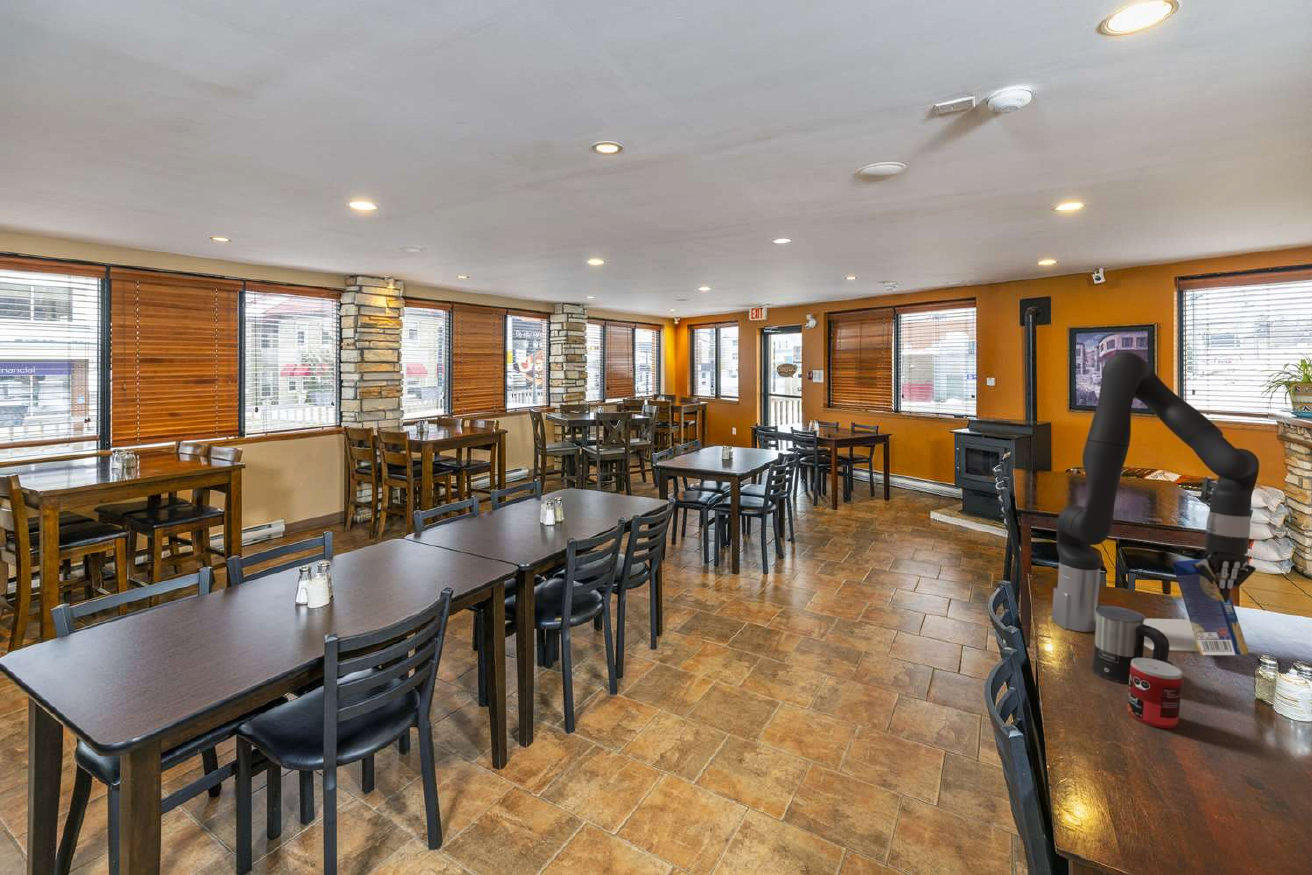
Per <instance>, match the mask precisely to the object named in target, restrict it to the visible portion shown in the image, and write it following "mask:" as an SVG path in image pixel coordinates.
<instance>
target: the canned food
mask: <svg viewBox="0 0 1312 875" xmlns="http://www.w3.org/2000/svg"><path fill="white" fill-rule="evenodd" d="M1149 658H1150V657H1148V658H1144V657H1143V658H1134V659H1132V661H1131V666H1130V677H1129V683H1128V690H1127V705H1126V709H1127V712H1128V714H1129V715H1130V716H1131V717H1132V716H1133V717H1134V718H1133V717H1132V718H1133V719H1135V720H1136V719H1137V720H1136V721H1138V720H1139V722H1140V721H1141V722H1140V723H1142V722H1143V724H1144V723H1147V724H1150V725H1153V726H1155V728H1158V727H1159V728H1158V729H1164V728H1169V730H1170V729H1174V728H1176V727H1177V726H1178V723H1179V719H1180V718H1179V717H1180V707H1181V696H1182V687H1183V671H1182V670H1181V669H1180V668H1178V667H1177V666H1175V665H1174V664H1173V665H1170V664H1168V663H1165V662H1162V661H1159V660H1154V659H1149ZM1147 724H1146V725H1147ZM1150 725H1149V726H1150ZM1153 726H1152V727H1153Z"/></svg>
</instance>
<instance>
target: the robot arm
mask: <svg viewBox="0 0 1312 875" xmlns="http://www.w3.org/2000/svg"><path fill="white" fill-rule="evenodd" d="M1100 380H1101V381H1100V387H1099V388H1100V389H1099V395H1098V401H1097V406H1096V409H1095V411H1094V415H1093V417H1092V421H1091V423H1090V427H1089V431H1088V434H1087V437H1086V441H1085V444H1084V448H1083V452H1082V466H1083V470H1084V475H1085V478H1086V483H1087V495H1086V500H1085V503H1084V506H1082V505H1079V504H1077V505H1076V504H1071V505H1068V506H1065V507H1064V508H1063V509H1062V510H1061V512H1060V513H1059V515H1058V518H1057V524H1056V550H1057V551H1056V552H1057V554H1058V558H1059V562H1058V572H1057V573H1058V575H1057V577H1058V578H1057V587H1053V593H1052V594H1053V595H1052V596H1053V597H1052V611H1051V621H1053V622H1054V623H1055V624H1056V625H1058V626H1060V627H1061V628H1062V629H1064V630H1071V631H1075V632H1076V631H1077V632H1082V633H1083V632H1084V633H1089V632H1090V633H1091V632H1094V631H1096V615H1097V612H1096V611H1095V609H1096V607H1098V603H1099V588H1100V580H1101V579H1100V577H1101V576H1100V575H1101V567H1102V566H1101V564H1102V560H1101V557H1100V556H1099V555H1098V554H1097V553H1096V552H1095V550H1094V548H1093V547H1092V546H1097V545H1100V544H1103V543H1104V542H1105V541H1106V540H1107V539H1108V537H1109V535H1110V534H1111V530H1112V528H1113V520H1114V515H1115V505H1116V499H1117V495H1118V489H1119V484H1120V480H1121V476H1122V471H1123V468H1124V465H1125V462H1126V459H1127V454H1128V453H1129V452H1128V451H1129V447H1130V444H1131V437H1132V436H1131V434H1132V419H1131V418H1132V414H1131V413H1132V408H1133V402H1134V401H1135V400H1134V399H1137V400H1139V401H1140V402H1141V403H1142V404H1144V405H1145V406H1146V407H1147V408H1148V409H1149V410H1151V411H1152V413H1153V414H1154V415H1155V416H1156V417H1158V419H1159V420H1160V421H1161V422H1162V423H1163V424H1164V425H1165V426H1166V427H1167V429H1168V430H1170V431H1171V432H1172V433H1173V434H1174V435H1175V436H1176V437H1178V439H1180V440H1181V441H1182V442H1183V443H1184V444H1185V445H1186V446H1188V447H1189V448H1190V449H1192V450H1193V451H1194V452H1193V453H1195V455H1196V456H1197V457H1198V458H1199V459H1200V460H1201V461H1202V463H1203V464H1204V465H1205V467H1207V468H1208V469H1209V470H1210V471H1211V472H1212V473H1214V474H1215V475H1216V476H1218V478H1217V484H1216V487H1215V488H1214V489H1213V491H1212V492H1211V495H1210V503H1209V511H1208V516H1207V519H1206V527H1205V538H1204V548H1205V554H1204V555H1203V558H1202V559H1203V560H1202V561H1200V562H1199V563H1197V562H1194V563H1193V564H1192V565H1193V567H1194V568H1195V570H1196V571H1197V572H1198V574H1200V575H1201V576H1203V577H1206V578H1207V579H1208V581H1209V582H1210V583H1211V584H1212V585H1213V582H1214V581H1215V583H1216V585H1218V587H1219V589H1220V592H1221V595H1222V597H1223V599H1224V601H1225V603H1227V601H1228V600H1229V595H1230V596H1231V594H1230V593H1231V589H1232V588H1233V587H1240V586H1242V584H1244V582H1245V581H1246V580H1247V579H1248V578H1249V577H1251V575H1252V574H1253V573H1254V572H1255V571H1256V569H1257V568H1256V566H1253V565H1250V564H1249V563H1248V562H1247V559H1246V555H1247V554H1248V551H1249V542H1250V533H1251V511H1252V497H1253V494H1254V490H1255V487H1256V483H1257V481H1258V478H1259V477H1258V476H1259V472H1260V461H1259V458H1258V456H1257V455H1256V454H1255V453H1254V452H1253V451H1250V450H1248V449H1247V448H1246V449H1245V448H1238V447H1237V448H1236V447H1235V446H1234V445H1233V444H1231V442H1230V441H1228V440H1227V439H1226V438H1225V437H1224V433H1223V431H1222V430H1221V429H1220V428H1219V427H1218V426H1217V425H1215V423H1213V421H1211V420H1210V419H1208V418H1207V417H1206V416H1205V415H1204V414H1203V413H1201V412H1200V411H1198V410H1197V409H1196V408H1195V407H1193V406H1192V405H1191V404H1190V403H1188V402H1187V401H1185V400H1184V399H1182V398H1181V397H1180V396H1178V395H1177V393H1175V392H1173V391H1172V390H1171V389H1170V388H1169V387H1168V386H1167V385H1166V384H1165V383H1164V382H1163V381H1162V380H1161V379H1160V377H1159V376H1158V375H1157V374H1156V373H1155V371H1154V370H1153V369H1152V368H1151V365H1150V364H1149V362H1148V361H1147V360H1145V359H1144V358H1143V357H1141V356H1140V355H1138V354H1136V353H1133V352H1128V351H1127V352H1126V351H1125V352H1124V351H1123V352H1119V353H1116V354H1114V355H1112V356H1111V357H1110V358H1109V359H1108V360H1107V361H1106V362H1105V364H1104V365H1103V367H1102V372H1101V379H1100ZM1208 564H1209V565H1210V568H1211V570H1212V571H1213V572H1214V576H1215V577H1216V578H1217V580H1218V581H1216V580H1215V578H1214V577H1213V576H1212V574H1211V573H1210V572H1209V569H1210V568H1209V567H1208Z"/></svg>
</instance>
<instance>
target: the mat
mask: <svg viewBox="0 0 1312 875" xmlns="http://www.w3.org/2000/svg"><path fill="white" fill-rule="evenodd" d="M1143 624H1145V625H1147V626H1150V627H1153V628H1156V629H1158V630H1159V631H1161V632H1162V633H1163V634H1164V635H1165V636H1166V638H1167V639H1168V641H1169V652H1191V653H1192V652H1196V653H1200V652H1199V649H1198V645H1197V642H1196V639H1195V636H1194V632H1193V629H1192V626H1191V623H1190V619H1186V618H1185V619H1180V618H1177V619H1176V618H1174V619H1173V618H1146V619H1145V620H1144V623H1143ZM1144 647H1146V648H1148V649H1150V650H1151V651H1154V643H1153V641H1152V640H1151V639H1149V638H1148V637H1146V636H1144ZM1248 651H1249V653H1248V654H1254V653H1255V652H1254V651H1253V650H1251V649H1249V648H1248Z"/></svg>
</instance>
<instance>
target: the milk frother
mask: <svg viewBox="0 0 1312 875" xmlns="http://www.w3.org/2000/svg"><path fill="white" fill-rule="evenodd" d="M1095 611H1096V612H1097V615H1096V629H1095V634H1094V652H1093V662H1092V665H1091V670H1092V671H1093V673H1095V674H1096V675H1097V676H1099V677H1102V678H1104V679H1107V680H1109V681H1113V682H1118V683H1123V684H1129V677H1130V666H1131V661H1132V659H1134V658H1149V659H1154V660H1159V661H1162V662H1165V663H1168V664H1170V665H1173V666H1174V664H1173V661H1171V660H1168V658H1169V653H1170V651H1169V641H1168V639H1167V638H1166V636H1165V635H1164V634H1163V633H1162V632H1161V631H1159V630H1158V629H1156V628H1153V627H1150V626H1147V625H1145V624H1143V623H1144V620H1145V619H1147V618H1146V616H1145V615H1144V614H1142V613H1140V612H1139V611H1136V610H1132V609H1129V608H1125V607H1120V606H1113V605H1112V606H1111V605H1100V606H1097V607H1096V609H1095ZM1144 636H1146V637H1148V638H1149V639H1151V640H1152V641H1153V643H1154V650H1152V651H1153V654H1152V657H1149V656H1147V655H1145V656H1144V648H1145V645H1144Z"/></svg>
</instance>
